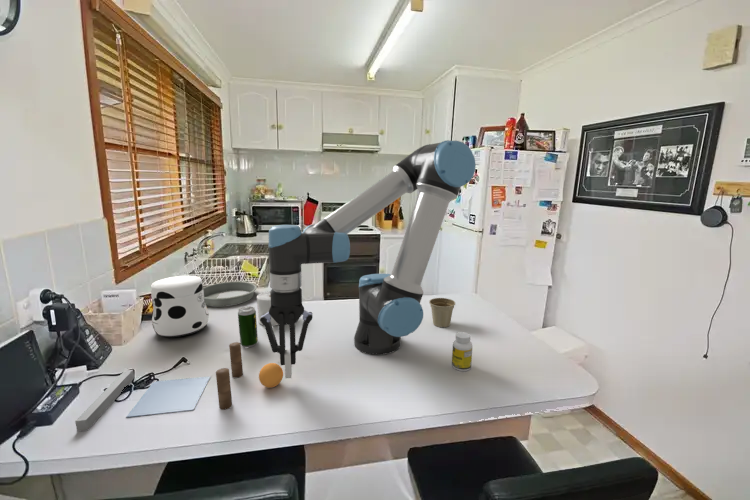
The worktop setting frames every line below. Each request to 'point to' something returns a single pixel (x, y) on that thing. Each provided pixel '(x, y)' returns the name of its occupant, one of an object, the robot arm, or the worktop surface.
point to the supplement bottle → (462, 352)
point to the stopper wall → (104, 401)
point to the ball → (271, 375)
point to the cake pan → (216, 289)
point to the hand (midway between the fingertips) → (288, 375)
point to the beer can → (247, 326)
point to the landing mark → (170, 396)
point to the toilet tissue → (264, 306)
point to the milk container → (178, 306)
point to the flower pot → (442, 311)
